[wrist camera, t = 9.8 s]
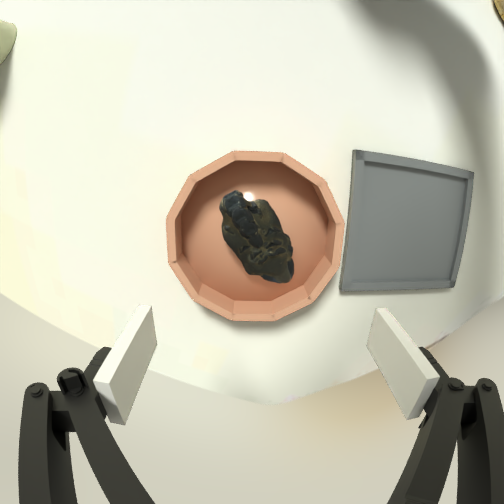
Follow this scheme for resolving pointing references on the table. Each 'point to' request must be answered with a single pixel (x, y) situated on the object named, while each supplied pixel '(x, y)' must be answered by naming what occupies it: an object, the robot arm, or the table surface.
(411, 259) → the tray
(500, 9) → the stone
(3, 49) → the can
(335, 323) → the table surface
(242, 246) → the stone
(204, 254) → the bowl
